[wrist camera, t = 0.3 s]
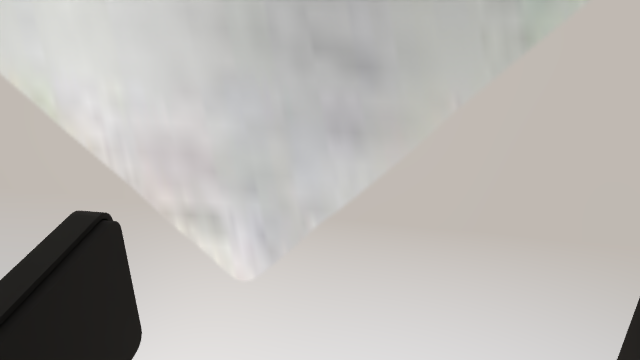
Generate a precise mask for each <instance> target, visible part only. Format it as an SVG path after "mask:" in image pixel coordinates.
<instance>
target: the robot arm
mask: <svg viewBox="0 0 640 360" xmlns="http://www.w3.org/2000/svg"><path fill="white" fill-rule="evenodd" d="M141 334H142V331H141V325H140V320H139V315H138V310H137V305H136V300H135V295H134V290H133V285H132V280H131V275H130V270H129V265H128V260H127V255H126V250H125V245H124V240H123V235H122V230H121V226H120V224H119V223H118V222H116V221H113V220H112V217H111V216H110V215H109V214H108V213H103V212H102V213H101V212H90V211H75V212H73V213H72V214H71V215H70V216H68V217H67V218H66V219H65V220H64V221H63V222H62V223H61V224H60V225H59V226H58V227H57V228H56V229H55V230H54V231H52V232H51V233H50V234H49V235H48V236H47V237H46V238H45V239H44V240H43V241H42V242H41V243H40V244H39V245H38V246H36V248H35V249H33V250H32V251H31V252H30V253H29V254H28V255H27V256H26V257H25V258H24V259H23V260H22V261H21V262H19V263H18V264H17V265H16V266H15V267H14V268H13V269H12V270H11V271H10V272H9V273H8V274H7V275H6V276H4V277H3V278H2V279H1V280H0V360H132V358H133V357H134V355H135V353H136V352H137V350H138V348H139V345H140V341H141ZM617 360H640V298H639V301H638V304H637V307H636V309H635V312H634V315H633V318H632V320H631V323H630V326H629V329H628V331H627V334H626V337H625V340H624V342H623V345H622V348H621V351H620V353H619V356H618V359H617Z"/></svg>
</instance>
